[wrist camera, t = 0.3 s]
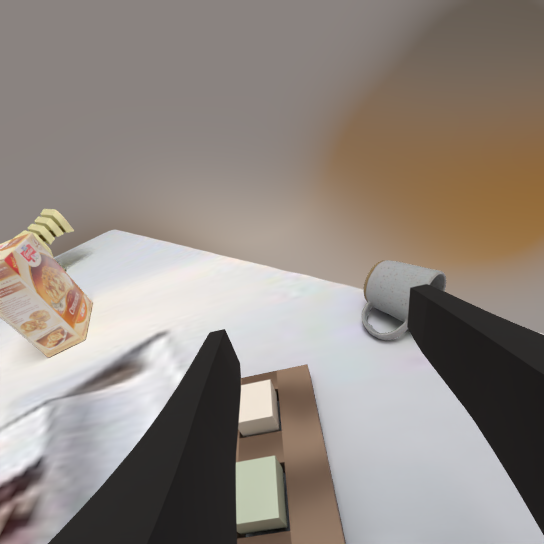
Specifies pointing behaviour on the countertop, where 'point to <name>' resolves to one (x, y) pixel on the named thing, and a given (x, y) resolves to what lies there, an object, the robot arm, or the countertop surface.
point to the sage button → (260, 495)
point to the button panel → (297, 462)
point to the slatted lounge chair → (48, 227)
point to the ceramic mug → (395, 291)
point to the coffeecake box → (41, 297)
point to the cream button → (258, 409)
